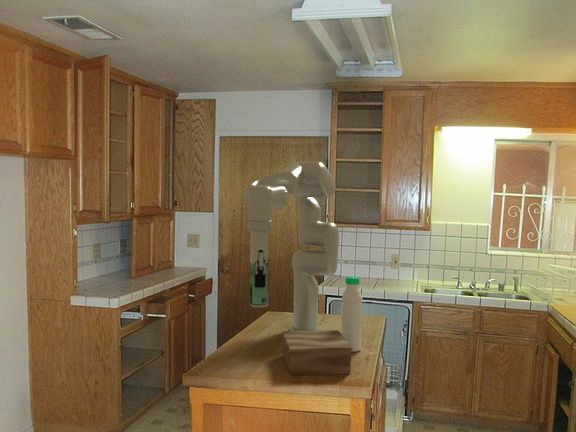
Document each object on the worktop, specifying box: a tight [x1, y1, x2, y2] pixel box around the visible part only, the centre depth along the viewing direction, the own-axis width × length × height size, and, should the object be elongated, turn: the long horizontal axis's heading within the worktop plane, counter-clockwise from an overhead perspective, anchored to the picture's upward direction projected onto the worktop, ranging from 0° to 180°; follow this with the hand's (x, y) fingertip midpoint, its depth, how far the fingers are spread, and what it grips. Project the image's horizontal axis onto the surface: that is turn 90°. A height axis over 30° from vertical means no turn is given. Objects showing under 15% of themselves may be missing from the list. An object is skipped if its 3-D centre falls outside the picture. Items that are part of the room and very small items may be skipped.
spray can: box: [249, 250, 269, 309], centre depth 155 cm, size 6×6×20 cm
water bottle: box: [340, 275, 363, 353], centre depth 173 cm, size 7×7×25 cm
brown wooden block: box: [282, 329, 352, 376], centre depth 158 cm, size 19×19×8 cm
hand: (259, 284), depth 155 cm, fingers closed on spray can, 5 cm apart
